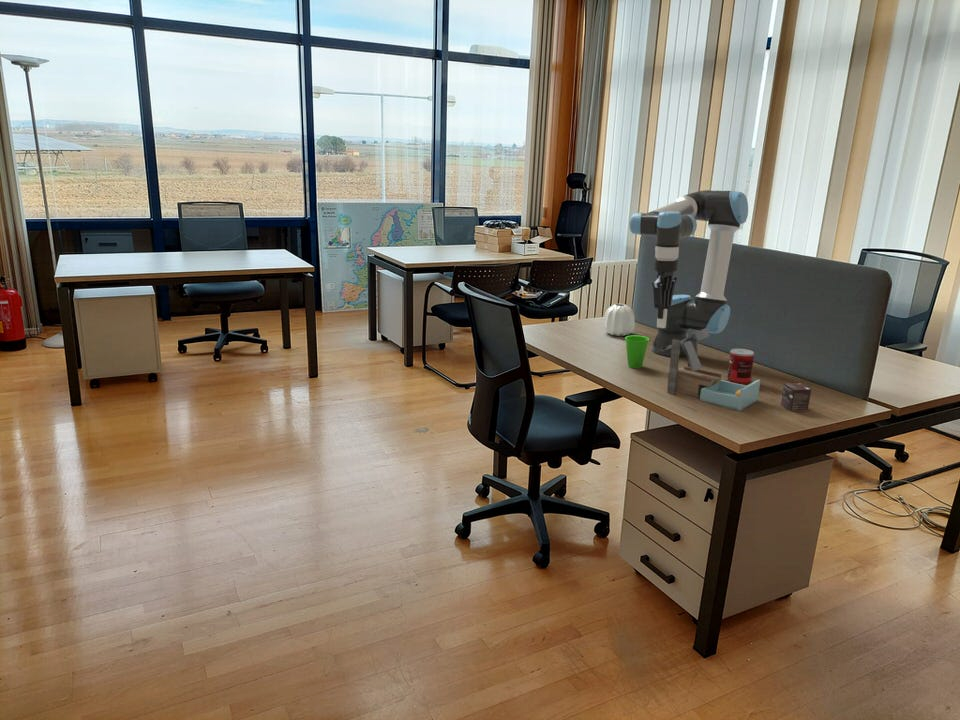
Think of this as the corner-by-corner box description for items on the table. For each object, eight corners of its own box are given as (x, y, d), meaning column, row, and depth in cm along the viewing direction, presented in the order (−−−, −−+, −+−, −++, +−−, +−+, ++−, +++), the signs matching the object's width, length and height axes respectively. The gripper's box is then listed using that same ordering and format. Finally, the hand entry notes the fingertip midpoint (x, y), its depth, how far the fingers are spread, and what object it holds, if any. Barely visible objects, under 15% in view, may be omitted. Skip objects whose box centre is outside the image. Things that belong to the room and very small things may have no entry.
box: (780, 404, 220) (783, 383, 218) (798, 404, 220) (801, 382, 218) (790, 411, 214) (793, 389, 212) (808, 411, 214) (811, 389, 212)
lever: (677, 375, 240) (664, 344, 241) (725, 358, 227) (711, 325, 228) (661, 383, 233) (648, 350, 234) (710, 365, 219) (696, 331, 220)
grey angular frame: (682, 381, 241) (687, 331, 236) (723, 391, 231) (729, 338, 226) (662, 391, 231) (667, 338, 226) (704, 402, 221) (710, 347, 216)
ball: (743, 385, 221) (752, 394, 219) (735, 394, 223) (744, 402, 222) (738, 388, 218) (747, 397, 216) (730, 397, 220) (739, 405, 219)
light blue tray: (717, 390, 232) (720, 371, 230) (757, 400, 223) (760, 379, 221) (699, 400, 223) (701, 380, 221) (740, 410, 214) (743, 389, 212)
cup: (647, 370, 254) (650, 342, 251) (622, 368, 256) (624, 340, 252) (647, 363, 262) (649, 335, 259) (623, 362, 264) (624, 334, 261)
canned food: (733, 376, 248) (736, 347, 245) (754, 381, 242) (758, 351, 239) (723, 380, 243) (726, 351, 240) (744, 386, 237) (748, 355, 234)
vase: (609, 338, 298) (611, 308, 294) (598, 330, 311) (600, 302, 307) (639, 337, 301) (641, 307, 297) (626, 329, 314) (628, 301, 310)
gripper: (665, 255, 235) (660, 321, 242) (646, 260, 226) (641, 329, 233) (685, 257, 230) (680, 325, 237) (667, 262, 221) (661, 332, 228)
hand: (661, 327), depth 235 cm, fingers closed
